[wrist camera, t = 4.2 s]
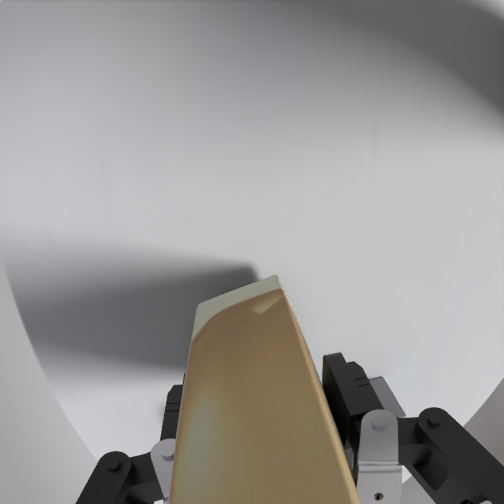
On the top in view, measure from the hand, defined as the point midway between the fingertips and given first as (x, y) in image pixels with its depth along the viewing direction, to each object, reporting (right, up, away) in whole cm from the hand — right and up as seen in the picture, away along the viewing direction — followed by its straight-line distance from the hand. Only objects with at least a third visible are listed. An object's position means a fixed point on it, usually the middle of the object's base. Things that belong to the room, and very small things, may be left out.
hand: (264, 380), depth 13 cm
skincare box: (0, +1, +3) cm, 4 cm away
